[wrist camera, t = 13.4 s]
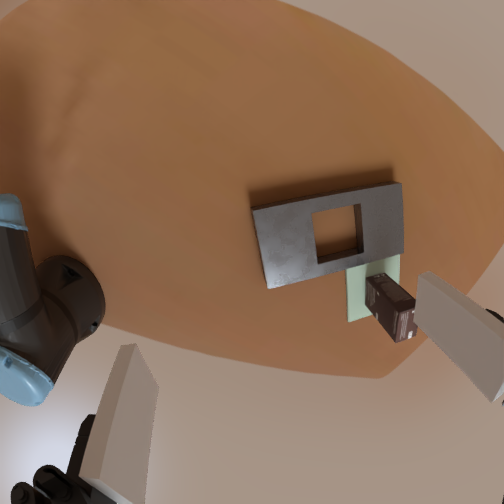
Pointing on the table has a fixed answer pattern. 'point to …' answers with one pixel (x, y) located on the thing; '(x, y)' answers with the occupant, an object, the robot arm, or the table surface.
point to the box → (391, 306)
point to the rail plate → (302, 235)
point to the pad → (358, 284)
